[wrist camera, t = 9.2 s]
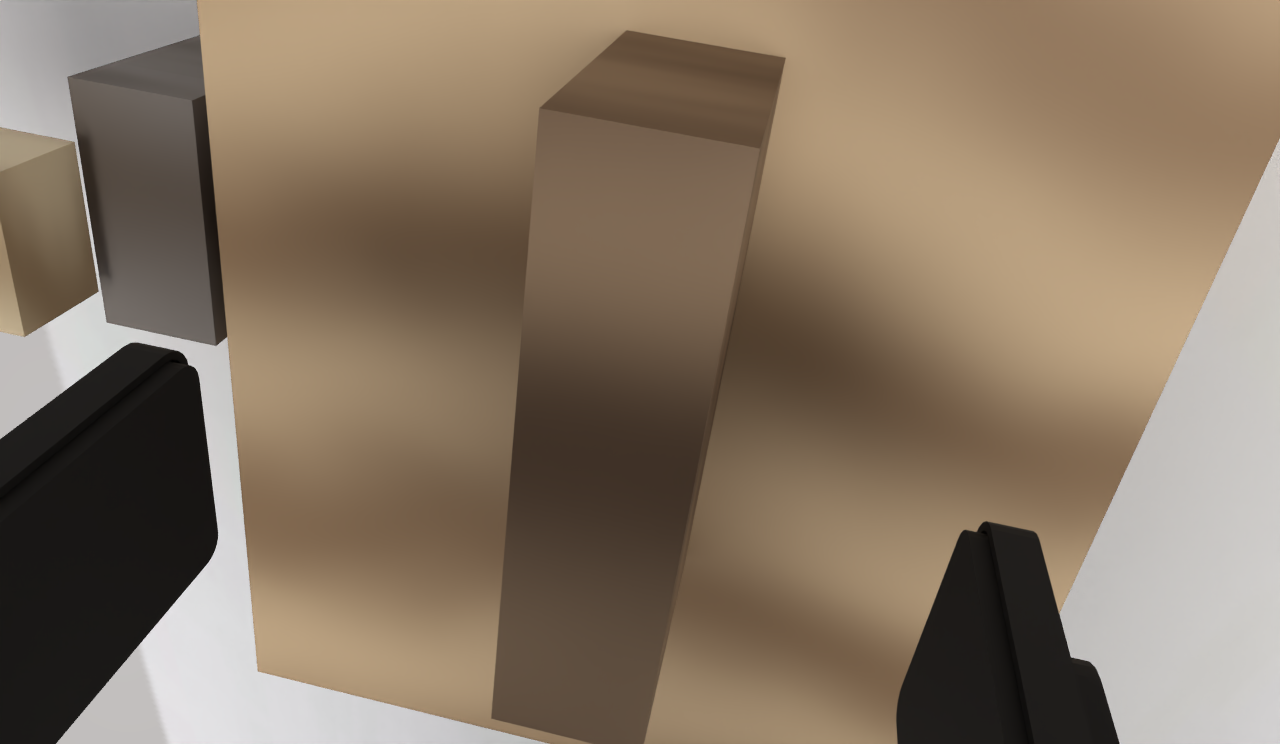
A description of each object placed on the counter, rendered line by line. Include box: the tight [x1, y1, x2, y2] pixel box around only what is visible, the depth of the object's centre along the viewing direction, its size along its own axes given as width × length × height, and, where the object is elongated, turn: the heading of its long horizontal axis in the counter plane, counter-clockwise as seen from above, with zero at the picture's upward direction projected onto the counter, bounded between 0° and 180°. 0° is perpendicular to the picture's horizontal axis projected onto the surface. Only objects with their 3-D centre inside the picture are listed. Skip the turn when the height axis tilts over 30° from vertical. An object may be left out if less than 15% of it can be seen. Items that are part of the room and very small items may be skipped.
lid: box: [197, 0, 1280, 744], centre depth 16 cm, size 23×17×6 cm
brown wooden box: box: [68, 35, 227, 346], centre depth 23 cm, size 22×19×11 cm
